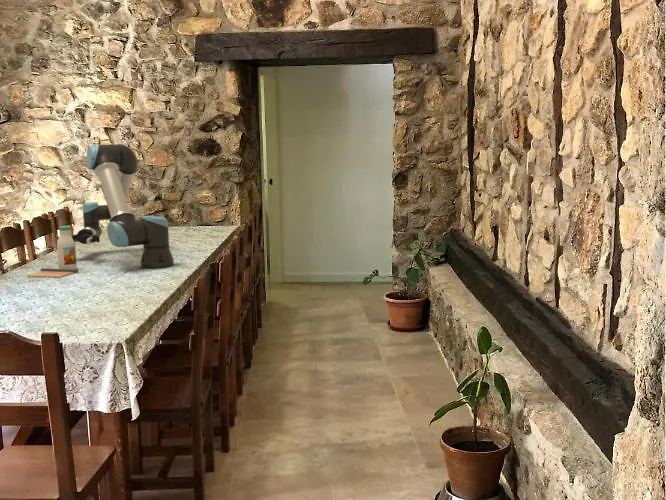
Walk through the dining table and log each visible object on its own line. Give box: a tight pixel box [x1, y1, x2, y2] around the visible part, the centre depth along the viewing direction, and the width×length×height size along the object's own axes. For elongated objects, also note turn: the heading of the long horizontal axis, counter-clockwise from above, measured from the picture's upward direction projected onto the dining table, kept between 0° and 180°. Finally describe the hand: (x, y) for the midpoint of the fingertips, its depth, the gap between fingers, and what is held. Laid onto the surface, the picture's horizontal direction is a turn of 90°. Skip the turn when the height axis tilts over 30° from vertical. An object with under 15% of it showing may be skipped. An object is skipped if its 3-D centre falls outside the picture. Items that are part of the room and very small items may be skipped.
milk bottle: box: [56, 225, 78, 269], centre depth 311 cm, size 8×8×20 cm
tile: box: [27, 270, 75, 279], centre depth 300 cm, size 16×10×1 cm, turn 78°
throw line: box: [40, 267, 79, 274], centre depth 306 cm, size 18×1×2 cm, turn 78°
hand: (72, 242), depth 321 cm, fingers open, 13 cm apart
